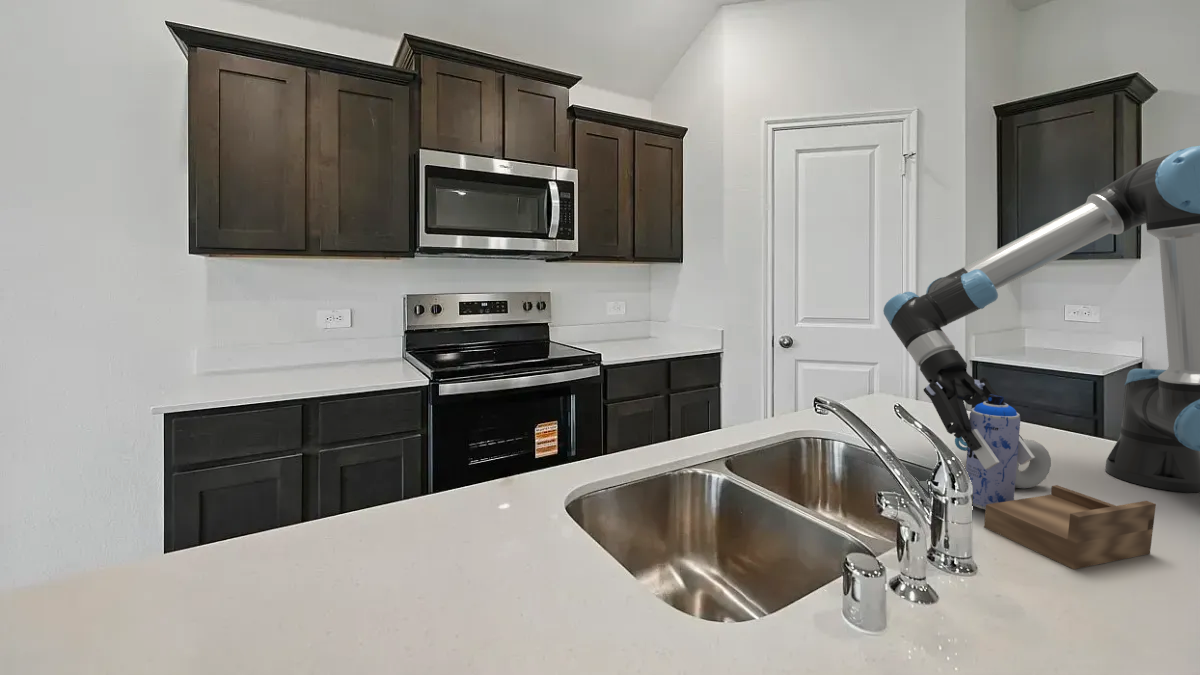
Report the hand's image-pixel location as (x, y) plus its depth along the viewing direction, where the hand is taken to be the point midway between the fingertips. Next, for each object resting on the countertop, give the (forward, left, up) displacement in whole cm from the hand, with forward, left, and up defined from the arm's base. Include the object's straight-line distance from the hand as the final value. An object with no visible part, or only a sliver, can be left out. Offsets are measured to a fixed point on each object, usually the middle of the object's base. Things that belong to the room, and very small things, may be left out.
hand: (1010, 463), depth 98 cm
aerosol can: (0, -3, -9) cm, 10 cm away
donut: (-15, -8, -10) cm, 20 cm away
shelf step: (0, +10, -9) cm, 14 cm away
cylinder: (-16, -18, -10) cm, 26 cm away
